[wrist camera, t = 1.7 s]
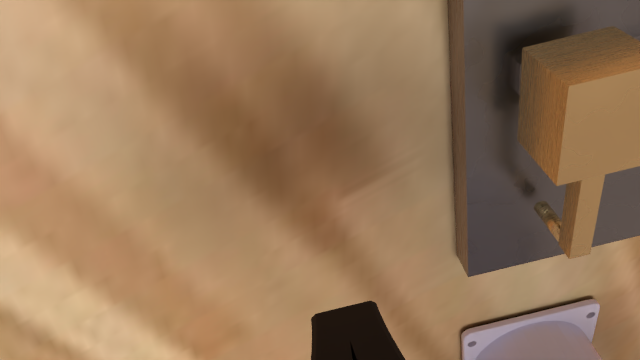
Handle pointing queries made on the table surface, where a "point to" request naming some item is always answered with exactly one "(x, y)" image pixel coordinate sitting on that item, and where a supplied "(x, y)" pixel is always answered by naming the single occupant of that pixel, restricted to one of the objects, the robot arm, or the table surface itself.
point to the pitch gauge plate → (502, 128)
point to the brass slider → (580, 123)
